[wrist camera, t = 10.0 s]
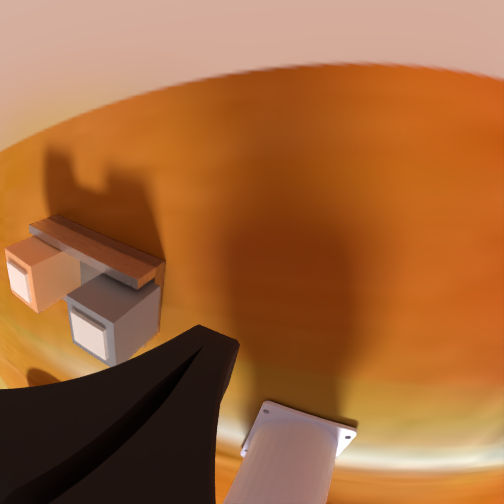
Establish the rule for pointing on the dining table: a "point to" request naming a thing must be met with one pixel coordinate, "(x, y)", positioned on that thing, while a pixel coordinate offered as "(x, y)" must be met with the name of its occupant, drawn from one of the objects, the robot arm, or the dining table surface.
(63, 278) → the block
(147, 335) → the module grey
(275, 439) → the robot arm
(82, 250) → the rail
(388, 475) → the dining table surface
